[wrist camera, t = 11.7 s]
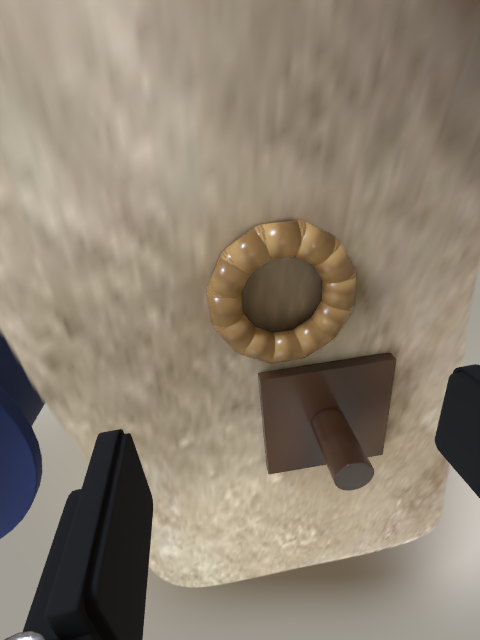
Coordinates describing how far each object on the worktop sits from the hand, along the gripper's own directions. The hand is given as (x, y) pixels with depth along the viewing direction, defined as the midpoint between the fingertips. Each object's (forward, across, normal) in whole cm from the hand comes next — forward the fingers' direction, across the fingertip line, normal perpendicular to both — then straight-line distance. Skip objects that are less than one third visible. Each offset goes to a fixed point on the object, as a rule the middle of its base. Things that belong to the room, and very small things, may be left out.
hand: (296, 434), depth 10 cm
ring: (+10, -2, 0) cm, 10 cm away
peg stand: (+11, -5, +10) cm, 16 cm away
